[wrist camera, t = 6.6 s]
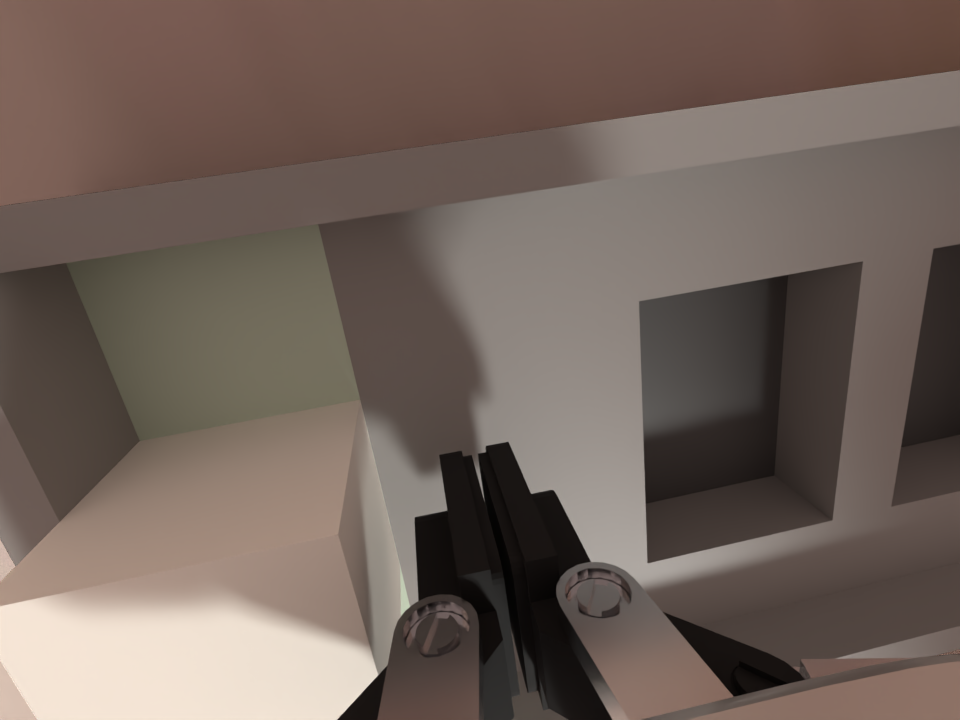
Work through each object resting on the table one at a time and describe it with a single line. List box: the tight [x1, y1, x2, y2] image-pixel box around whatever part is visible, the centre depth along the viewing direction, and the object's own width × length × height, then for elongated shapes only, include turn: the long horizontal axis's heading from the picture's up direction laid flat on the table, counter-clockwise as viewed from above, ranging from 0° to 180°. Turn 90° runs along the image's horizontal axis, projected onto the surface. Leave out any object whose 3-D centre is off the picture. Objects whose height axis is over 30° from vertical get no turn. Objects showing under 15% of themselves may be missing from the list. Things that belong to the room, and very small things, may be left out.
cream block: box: [0, 400, 401, 720], centre depth 10 cm, size 5×5×5 cm
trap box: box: [0, 70, 960, 720], centre depth 14 cm, size 28×16×6 cm, turn 98°
